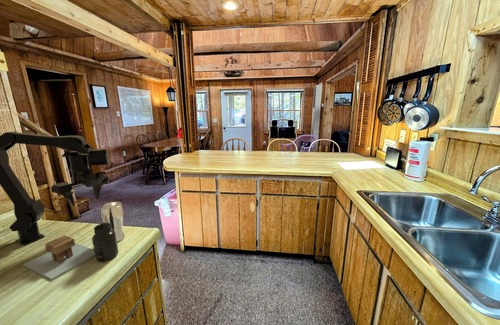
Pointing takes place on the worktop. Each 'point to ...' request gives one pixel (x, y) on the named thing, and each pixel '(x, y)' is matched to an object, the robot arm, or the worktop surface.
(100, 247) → the supplement bottle
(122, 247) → the worktop surface
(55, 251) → the walnut stool
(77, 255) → the rubber mat
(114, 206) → the beer glass
